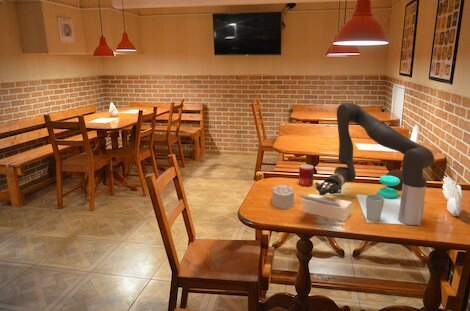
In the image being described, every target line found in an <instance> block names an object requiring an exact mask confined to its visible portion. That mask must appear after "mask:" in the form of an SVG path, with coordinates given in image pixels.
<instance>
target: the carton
mask: <svg viewBox="0 0 470 311" xmlns="http://www.w3.org/2000/svg"><path fill="white" fill-rule="evenodd" d="M307 196H309V197H314V198H319V199H323V200H328V201H333V202H335V203H336V204H338V205H340V207H337V206H333V205H328V204H324V203H319V202H315V201H310V200H306V199H304V198H302V201H301V202H302V204H301V206H302V208H301V212H302V213H303V212H304V213H306V214H311V215H316V216H320V217H324V218H329V219H332V220H336V221H341V222H345V221H346V220H347V218H349V216H351V213H352V202H351V201H347V200H343V199H338V198H333V197H329V196H326V195H323V196H322V195H320V194H315V193H309V194H308V195H307Z"/></svg>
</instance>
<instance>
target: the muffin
mask: <svg viewBox="0 0 470 311" xmlns="http://www.w3.org/2000/svg"><path fill="white" fill-rule="evenodd" d="M385 176H394V177H397V178H399V180H400V183H399V184H398V185H396V186H387V185H386V186H387V187H386V188H392V189H395V190H396V191H402V185H403V178H402V169H392V170H389V171H388V172H387V173H386V174H385Z"/></svg>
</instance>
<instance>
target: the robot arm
mask: <svg viewBox="0 0 470 311" xmlns="http://www.w3.org/2000/svg"><path fill="white" fill-rule="evenodd" d="M336 122H337V123H336V124H337V131H338V132H337V133H338V162H340V163H342V164H345V165H346V167H345V166H338V167H336V168H334V173H332V174H330V175H329V176H328V177H326V178H325V180H324V181H323V182H321V183H319V182H315V184H314V185H315V190H317V191H318V195H320V196H326V195H327V194H329V195H336V194H341V193H342V191H343V190H342V188H343V186H344V185H345V184H346V183H347V182H353V181H355V179H356V175H357V174H356V169H355V166H354V143H353V140H352V138H351V137H352V136H351V134H350V129H349V127H350V122H352V123H355V124H356V125H358V126H360V127H361V128H363V129H364V132H365V133H366V134H367V136H368V137H369V138H370V139H371V140H372V141H374V142H375V143H376V144H378V145H380V146H382V147H384V148H387V149H389V150H393V151H395V152H399V153H401V154H402V155H403V157H402V165H401V168H402V169H401V171H402V178H403V185H402V190H401V194H400V202H399V210H398V218H397V220H399V222H401V223H403V224H406V225H410V226H421V223H422V221H423V214H424V208H425V197H426V190H427V184H428V179H427V178H426V177H424V170H425V169H427V168H430V167H431V166H432V165H433V164H434V162H435V155H434V153H433V152H432V151H431V150H430V149H429V148H427V147H426V146H424V145H422V144H420V143H417V142H416V141H414V140H412V139H409V138H408V137H406V136H405V135H403V134H402V133H401V132H399V131H398V130H396V129H394V128H393V127H391V125H388V124H387V123H385V122H384V121H382V120H379V119H378V118H376V117H375V116H373V115H371V114H370V113H368V112H367V111H366V110H365V109H363V108H362V107H361V106H360V105H359V104H356V103H347V102H345V103H340V104H339V105H338V107H337V109H336Z"/></svg>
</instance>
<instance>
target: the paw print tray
mask: <svg viewBox="0 0 470 311" xmlns="http://www.w3.org/2000/svg"><path fill="white" fill-rule="evenodd" d="M294 192H295V190H294V188H293V187H292V186H289V185H287V184H283V185H282V184H278V185H275V186H273V187H272V193H271V194H272V197H271V205H272V206H273V207H275V208H276V209H279V210H280V209H281V210H288V209H290V208H293V206H294V194H295V193H294Z"/></svg>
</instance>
